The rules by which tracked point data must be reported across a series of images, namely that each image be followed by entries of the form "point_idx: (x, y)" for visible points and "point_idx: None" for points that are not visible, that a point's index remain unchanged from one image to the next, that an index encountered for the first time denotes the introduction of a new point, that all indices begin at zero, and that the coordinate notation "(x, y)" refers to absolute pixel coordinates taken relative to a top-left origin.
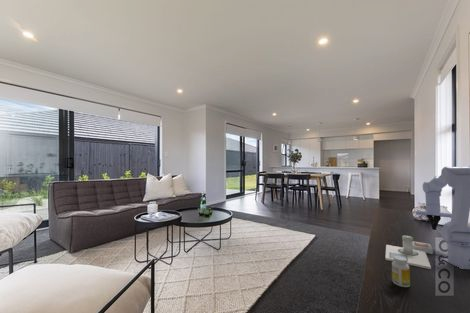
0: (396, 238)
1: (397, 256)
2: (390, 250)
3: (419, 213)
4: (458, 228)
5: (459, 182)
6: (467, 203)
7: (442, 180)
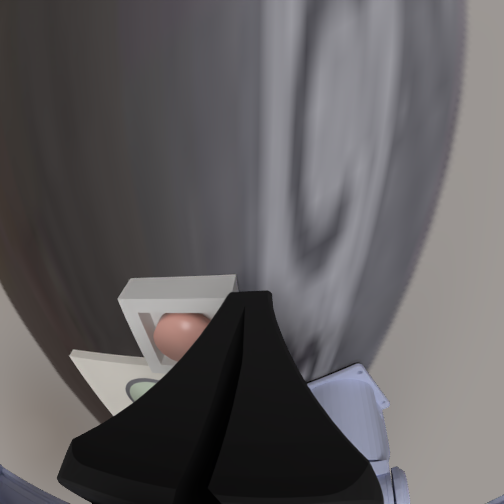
0: (31, 171)
1: None
2: (114, 403)
3: (18, 498)
4: None
5: None
6: None
7: None
